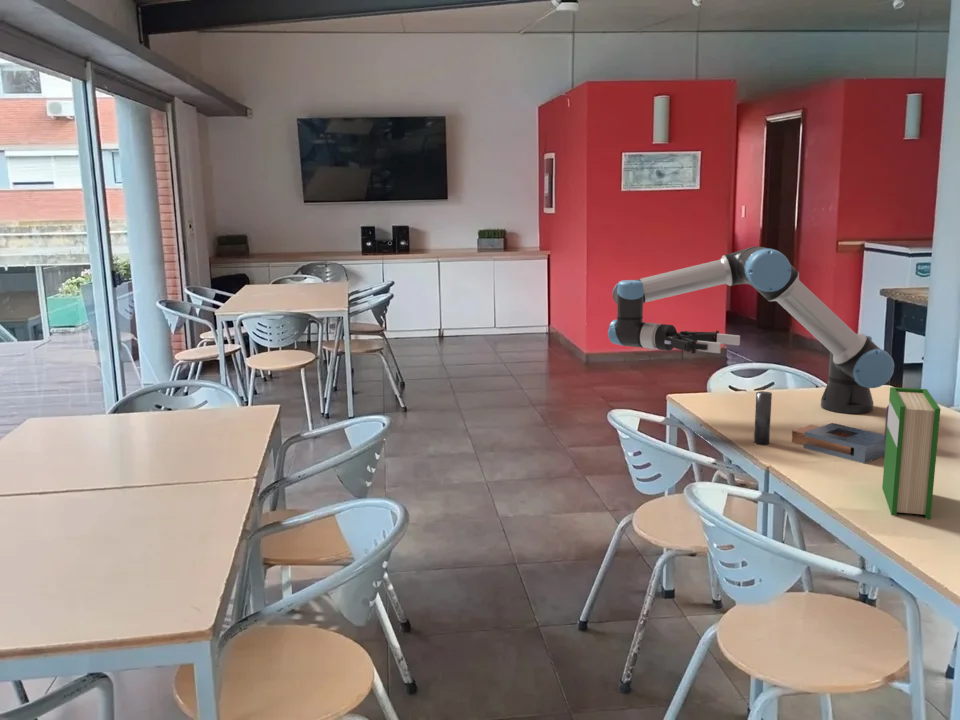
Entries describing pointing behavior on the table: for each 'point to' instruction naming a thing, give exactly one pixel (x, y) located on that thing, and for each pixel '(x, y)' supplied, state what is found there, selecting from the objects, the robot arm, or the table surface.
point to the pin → (762, 418)
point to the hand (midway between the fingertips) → (730, 344)
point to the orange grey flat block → (841, 441)
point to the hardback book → (910, 451)
